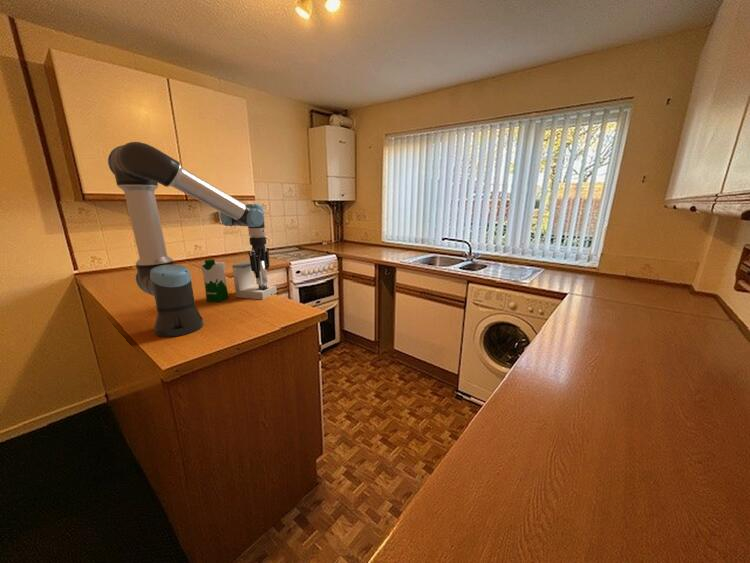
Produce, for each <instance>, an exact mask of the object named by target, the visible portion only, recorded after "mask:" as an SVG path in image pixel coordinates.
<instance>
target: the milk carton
mask: <svg viewBox="0 0 750 563" xmlns="http://www.w3.org/2000/svg"><path fill="white" fill-rule="evenodd" d="M199 266H200V269H201V272H202V277H203V283H204V288H205V289H204V290H205V297H206V303H207V302H211V303H213V302H214V303H215V302H216V303H221V302H223V301H225V300H226V299H228V298H229V293H228V292H229V291H228V288H227V280H226V271H225V270H226V262H222V261H220V262H215V258H214V259H205V260H204V263H202V264H200V265H199Z"/></svg>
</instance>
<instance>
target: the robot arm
mask: <svg viewBox="0 0 750 563" xmlns="http://www.w3.org/2000/svg"><path fill="white" fill-rule="evenodd" d="M107 164H108V167H109V170H110V171H111V172H112V174H113V175H114V178H115V182H116V186H117V187H118V188H119V189H121V190H122V191H123V193H124V196H125V197H124V198H125V202H126V205H127V210H128V215H129V219H130V223H131V227H132V231H133V236H134V239H135V240H134V241H135V245H136V248H137V253H138V257H139V258H138V260H137V261H136V262H135V268H136V275H135V282H136V284H137V286H138V287H139V289H140V290H141V291H142V292H144V293H146V294H148V295H150V296H153V297H154V300H155V301H154V302H155V306H156V310H157V314H156V320H155V325H154V333H155V335H156V336H158V337H162V338H163V337H165V338H170V337H171V338H173V337H179V336H184V335H187V334H191V333H193V332H196V331H198V330H201V329H202V328H203V326H204V319H203V317H202V316H201V314H200V312H199V310H198V309H197V307H196V303H195V302H196V301H195V297H194V290H193V284H192V276H191V273H190V270H189V268H188V267H186V266H185V265H182V264H174V259H173V258H172V257H170V256H168V253H167V252H168V251H167V248H166V247H167V246H166V244H165V242H166V241H165V237H164V232H163V228H162V222H161V219H160V218H161V217H160V213H159V209H158V204H157V203H158V202H157V198H156V193H155V191H156V190H157V189H158V188H159V184H160V185H161V186H164V187H165V188H168V187H173V188H174V189H176V190H178V191H180V192H182V193H183V194H185V195H187V196H189V197H192V198H193V199H195V200H197V201H199V202H200V203H203V204H204V205H206V206H209V207H211V208H212V209H214V210H216V211H218V212H219V218H220V222H221V223H222V225H223V226H225V227H235V226H236V227H237V226H239V227H247V228H248V229H247V230H248V236H249V244H250V246H251V247H252V248H251V250H250V251H248V252H247V254H248V256H249V261H250V263H251V270H252V271H253V272H254V278H255V281H256V282H255V283H256V285H258V284H262V276H261V271H260V260H264V261H265V271H266V281H267V283H268V282H269V281H268V280H269V278H268V270H269V269H270V256H269V255H270V254H269V253H270V248H268V247H266V244H267V238H266V227H265V215H264V214H265V212H264V206H263V205H262V204H260V203H249V204H248V203H247V204H245V203H244V202H242V201H240V200H238V199H236V198H235V197H233V196H231V195H230V194H228V193H226V192H224V191H223V190H221V189H219V188H218V187H217V186H214V185H213V184H211V183H209V182H208V181H207V180H204V179H202V178H201V177H199V176H197V175H196V174H195V173H193V172H191V171H189V170H187V169H185V168H184V167H182V164H181V162H180V161H178V160H176V159H175V158H173V157H171V156H169V155H168V154H166V153H165V152H163V151H161V150H159V149H158V148H156V147H154V146H152V145H150V144H149V143H148V144H147V143H144V142H140V141H130V142H128V143H125V144H123V145H119V146H117V147H115V148H113V149H112V150H111V151H110V152H109V155H108V157H107Z"/></svg>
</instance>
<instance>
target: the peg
mask: <svg viewBox="0 0 750 563" xmlns="http://www.w3.org/2000/svg"><path fill="white" fill-rule="evenodd" d="M260 271H261V276H262V284H257V285H258V286H259V290H266V289H267V286H268V282H267V281H266V271H265V261H264V260H260Z"/></svg>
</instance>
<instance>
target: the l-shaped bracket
mask: <svg viewBox="0 0 750 563" xmlns="http://www.w3.org/2000/svg"><path fill="white" fill-rule="evenodd" d="M232 274H233V275H232V276H233V281H234V283H233V284H234V289H235V290H234V291H235V297H236V298H244V299H245V298H247V299H255V300H258V299H259V300H264V298H265V299H266V298H269V297H270V296H273V295H274V294H277V293H278V291H277V286H276V285H267V289H266V290H259V286H258V284H256V282H255V281H256V279H255V272H253V271H252V270H251V263H250V260H247V261H243V262H239V263H236V264H232ZM271 294H272V295H271Z"/></svg>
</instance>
